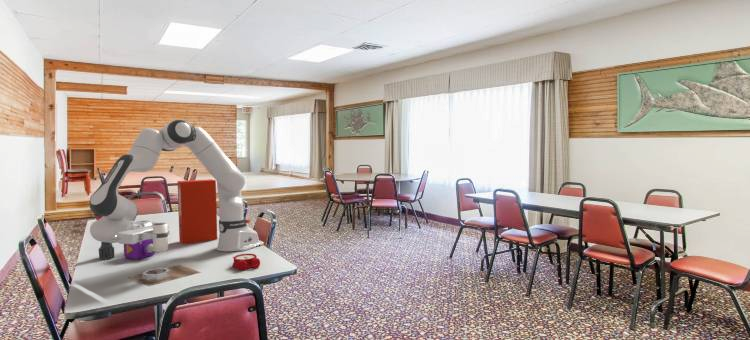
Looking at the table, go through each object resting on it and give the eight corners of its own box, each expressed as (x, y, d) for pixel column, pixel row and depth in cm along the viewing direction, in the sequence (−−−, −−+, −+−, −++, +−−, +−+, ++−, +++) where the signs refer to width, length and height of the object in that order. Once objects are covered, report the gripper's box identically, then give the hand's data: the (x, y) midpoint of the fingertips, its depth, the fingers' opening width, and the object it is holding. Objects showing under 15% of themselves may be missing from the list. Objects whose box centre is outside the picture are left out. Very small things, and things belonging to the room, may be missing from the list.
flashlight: (103, 255, 194) (101, 206, 193) (120, 255, 194) (117, 206, 193) (91, 259, 187) (89, 208, 185) (108, 259, 186) (106, 208, 185)
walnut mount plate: (179, 267, 174) (179, 264, 174) (201, 274, 164) (201, 272, 164) (127, 279, 159) (127, 277, 158) (148, 288, 148) (148, 286, 148)
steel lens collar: (162, 273, 163) (162, 266, 163) (173, 277, 158) (173, 270, 158) (139, 278, 156) (138, 272, 156) (150, 283, 151) (149, 276, 151)
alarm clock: (253, 252, 184) (263, 252, 172) (254, 266, 184) (264, 267, 171) (228, 255, 179) (237, 255, 166) (230, 270, 178) (238, 271, 165)
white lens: (166, 247, 162) (165, 222, 161) (169, 250, 158) (169, 223, 157) (151, 249, 158) (150, 223, 158) (155, 252, 154) (154, 225, 154)
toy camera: (146, 261, 184) (145, 238, 183) (120, 259, 186) (119, 237, 186) (163, 254, 194) (163, 233, 194) (138, 253, 197) (137, 232, 196)
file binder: (217, 239, 224) (215, 180, 222) (182, 244, 214) (180, 182, 212) (213, 237, 231) (211, 179, 229) (179, 241, 221) (177, 181, 219)
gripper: (108, 229, 150) (141, 231, 147) (149, 219, 170) (180, 221, 167) (108, 247, 150) (141, 249, 147) (150, 235, 170) (180, 237, 167)
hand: (162, 234), depth 157 cm, fingers closed on white lens, 5 cm apart
